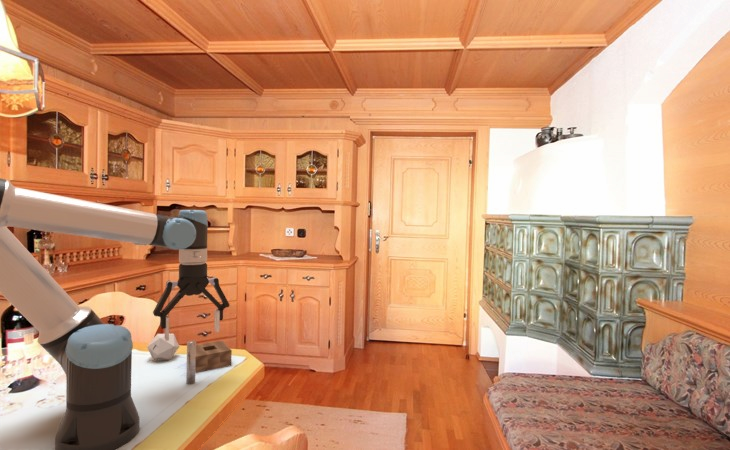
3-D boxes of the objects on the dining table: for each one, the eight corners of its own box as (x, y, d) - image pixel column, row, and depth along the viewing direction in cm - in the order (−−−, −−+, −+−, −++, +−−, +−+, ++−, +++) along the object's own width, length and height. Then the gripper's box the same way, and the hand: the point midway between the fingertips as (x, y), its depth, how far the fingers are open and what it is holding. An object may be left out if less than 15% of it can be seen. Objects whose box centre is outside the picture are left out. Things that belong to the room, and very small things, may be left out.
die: (147, 358, 129) (139, 341, 123) (169, 339, 135) (163, 322, 129) (163, 371, 126) (156, 354, 120) (186, 351, 132) (180, 334, 126)
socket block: (195, 372, 117) (195, 356, 117) (188, 360, 126) (188, 346, 126) (231, 365, 124) (231, 350, 123) (222, 354, 133) (222, 340, 132)
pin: (187, 385, 109) (187, 343, 108) (185, 381, 111) (186, 341, 110) (196, 383, 110) (196, 342, 110) (194, 380, 112) (195, 340, 112)
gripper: (145, 267, 99) (145, 347, 100) (240, 261, 114) (239, 331, 115) (142, 263, 105) (142, 339, 106) (233, 259, 120) (232, 325, 121)
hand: (192, 335), depth 110 cm, fingers open, 13 cm apart
